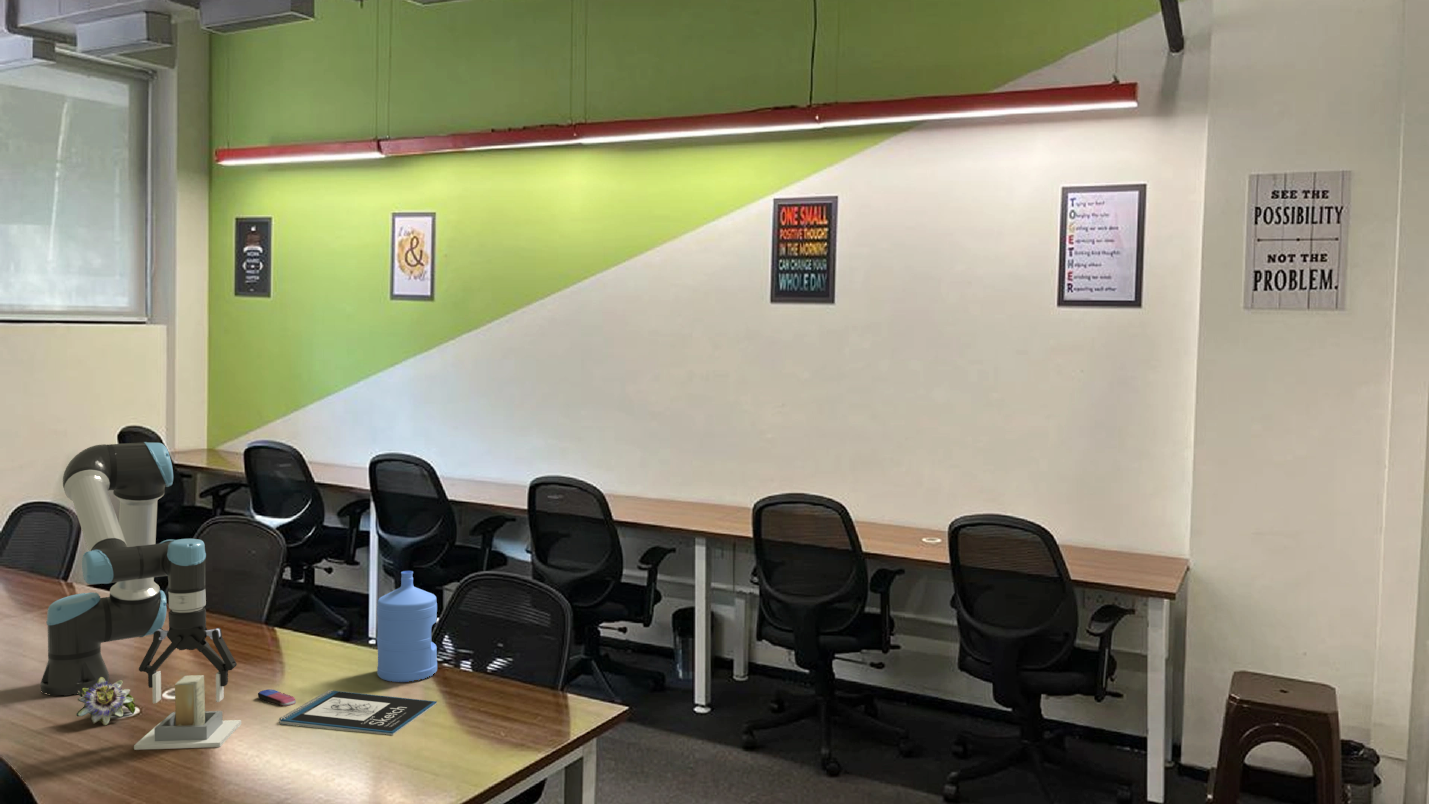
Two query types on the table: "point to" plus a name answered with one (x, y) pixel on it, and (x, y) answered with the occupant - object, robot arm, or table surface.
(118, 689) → the passion flower
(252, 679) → the table surface
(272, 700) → the eraser
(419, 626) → the water jug
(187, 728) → the socket board
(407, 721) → the sketchbook
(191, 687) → the skincare box
